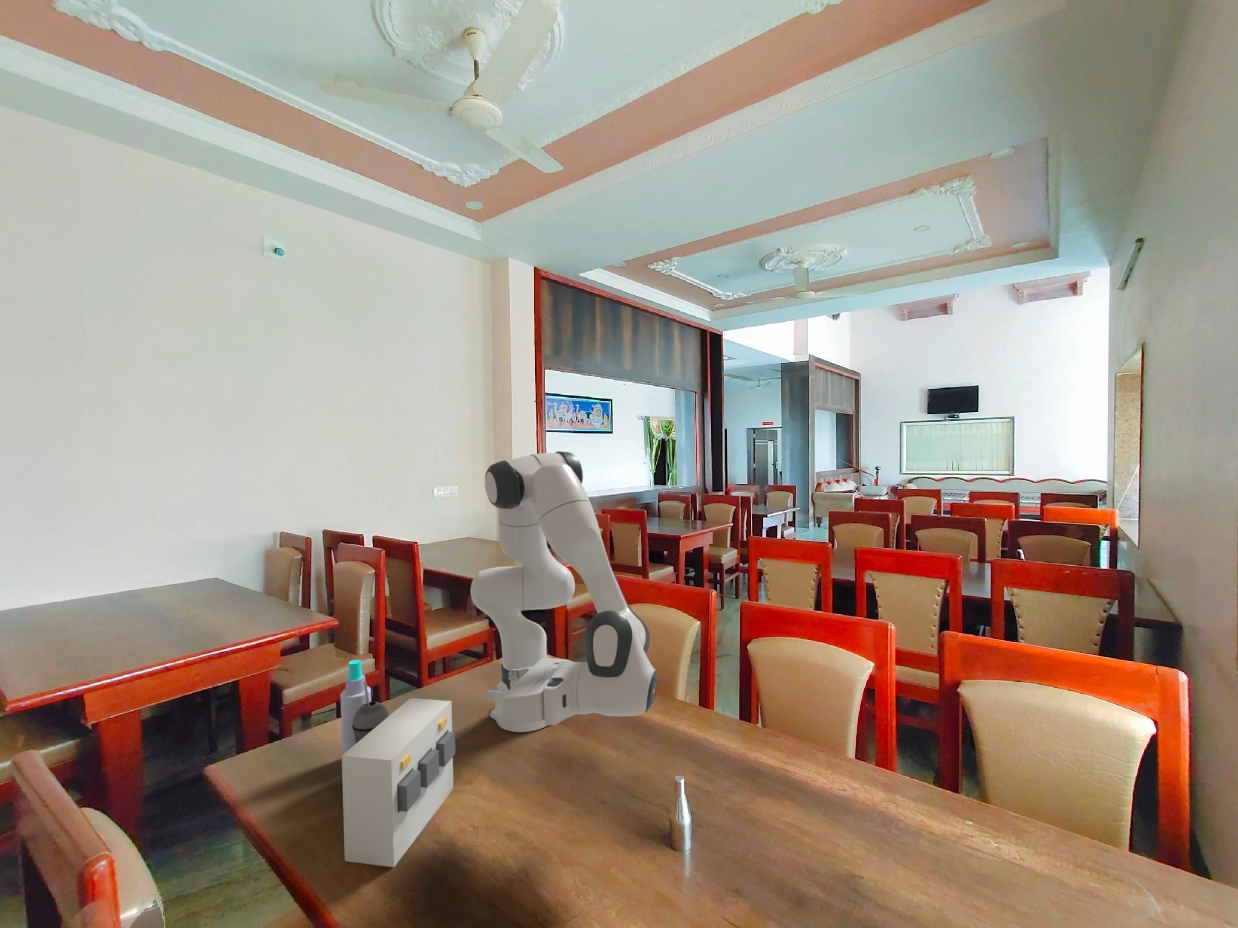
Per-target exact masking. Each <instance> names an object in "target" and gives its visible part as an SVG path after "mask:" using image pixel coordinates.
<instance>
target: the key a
mask: <svg viewBox="0 0 1238 928" xmlns="http://www.w3.org/2000/svg"><path fill="white" fill-rule="evenodd" d="M420 796H421V778H420V771H419V770H410V771H409V772H408V773H407V775H406V776H405V777H404V778H403V779H402V780H401V781H400V782H399V783H398V784H397V797H398V811H404V812H407V811H408V810H409V809H410V808H411V807H412V805H413V804H414V803H415V802H416V801H417V799H418V798H419V797H420Z"/></svg>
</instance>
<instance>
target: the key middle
mask: <svg viewBox="0 0 1238 928" xmlns="http://www.w3.org/2000/svg"><path fill="white" fill-rule="evenodd" d="M418 770H419V771H420V778H421V787H423V788H427V787H428V786H429V785H430V784H431V783H432V781H433V780H434V779H435V778H436V777H437V775H438V774H439V750H431V749H430V750H429V751H428V752H427V753H426V754H425V755H424V756H423V757H422V758H421V759H420V761H419V762H418Z"/></svg>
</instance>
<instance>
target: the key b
mask: <svg viewBox="0 0 1238 928" xmlns="http://www.w3.org/2000/svg"><path fill="white" fill-rule="evenodd" d="M436 750H439V766H441V767H445V766H446V765H447V763H448V762H449V761H450V760H451V759H452V757H453V758H454V756H455V755H456V732H455V731H452V732H447V731H446V733H445V734H444V735H443V736H442V737H441V738H440V739H439V740H438V741H437V742H436Z"/></svg>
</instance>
